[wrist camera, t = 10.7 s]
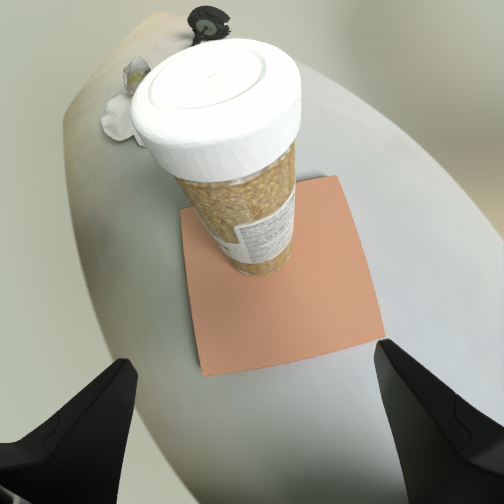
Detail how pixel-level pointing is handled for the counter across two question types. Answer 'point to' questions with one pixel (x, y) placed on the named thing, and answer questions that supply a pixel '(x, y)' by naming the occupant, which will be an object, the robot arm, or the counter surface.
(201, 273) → the terracotta tile
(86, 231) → the counter surface
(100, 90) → the counter surface
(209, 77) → the sprinkles bottle
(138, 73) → the artificial flower
